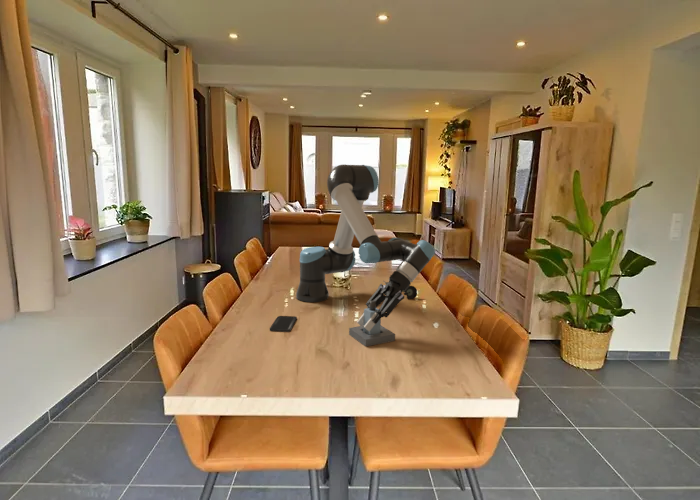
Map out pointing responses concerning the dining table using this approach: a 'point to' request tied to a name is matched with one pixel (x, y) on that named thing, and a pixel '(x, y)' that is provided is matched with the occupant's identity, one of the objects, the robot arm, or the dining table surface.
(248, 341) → the dining table surface
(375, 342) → the frame
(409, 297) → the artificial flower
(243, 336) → the dining table surface
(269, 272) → the dining table surface
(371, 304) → the connector plug
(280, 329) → the phone
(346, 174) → the robot arm
